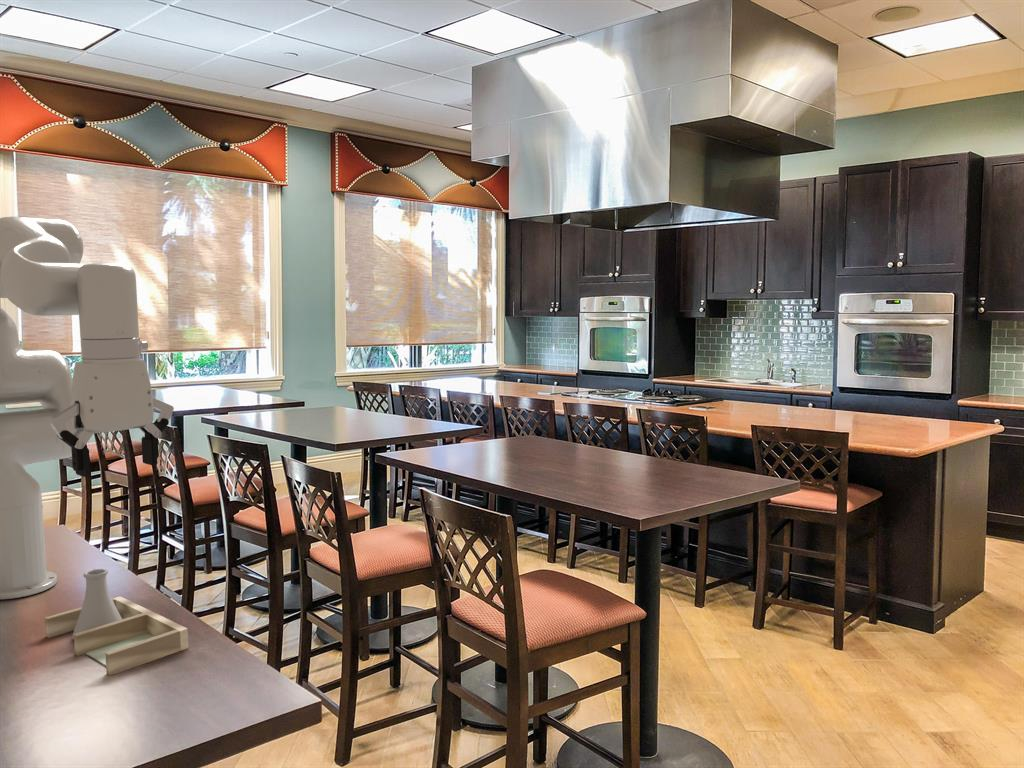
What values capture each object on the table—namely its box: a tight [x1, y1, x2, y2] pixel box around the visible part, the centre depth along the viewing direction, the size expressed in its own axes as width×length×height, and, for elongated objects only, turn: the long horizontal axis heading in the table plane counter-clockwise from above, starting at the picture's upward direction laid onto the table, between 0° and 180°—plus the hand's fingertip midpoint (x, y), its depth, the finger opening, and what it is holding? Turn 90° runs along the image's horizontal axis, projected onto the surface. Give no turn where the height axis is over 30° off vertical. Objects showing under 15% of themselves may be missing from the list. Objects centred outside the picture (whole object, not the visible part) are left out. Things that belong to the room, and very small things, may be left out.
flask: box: [71, 568, 122, 640], centre depth 128 cm, size 7×7×10 cm
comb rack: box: [44, 595, 190, 677], centre depth 125 cm, size 21×12×3 cm, turn 51°
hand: (117, 469), depth 120 cm, fingers open, 9 cm apart
